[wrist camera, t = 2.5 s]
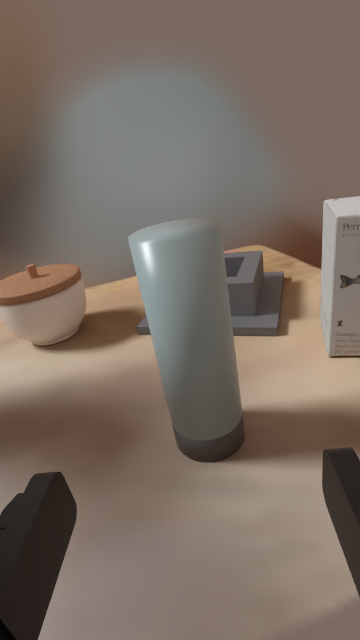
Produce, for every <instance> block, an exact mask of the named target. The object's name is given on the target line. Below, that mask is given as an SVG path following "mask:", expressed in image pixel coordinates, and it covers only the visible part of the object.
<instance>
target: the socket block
mask: <svg viewBox="0 0 360 640" xmlns="http://www.w3.org/2000/svg"><path fill="white" fill-rule="evenodd" d="M224 258H225V266H226V275H227V284H228V293H229V302H230V311H231V319H232V328H233V335H240V336H277V335H278V326H279V317H280V308H281V299H282V290H283V281H284V271H282V272H263V254H262V251H250V252H235V253H224ZM136 328H137V332H138V334H151V333H150V329H149V324H148V320H147V316H145V317H144V318H143V319H142V320H141V322H140V323H139V324H138V325H137V327H136Z"/></svg>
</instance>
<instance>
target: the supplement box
mask: <svg viewBox="0 0 360 640" xmlns="http://www.w3.org/2000/svg"><path fill="white" fill-rule="evenodd" d="M323 207H324V208H323V242H322V274H321V306H320V321H321V325H322V330H323V335H324V339H325V344H326V349H327V353H328V356H329V357H331V356H360V196H358V197H349V198H340V199H331V200H325V201H324V206H323Z"/></svg>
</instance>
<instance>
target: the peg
mask: <svg viewBox="0 0 360 640" xmlns="http://www.w3.org/2000/svg"><path fill="white" fill-rule="evenodd" d="M128 241H129V245H130V249H131V253H132V257H133V262H134V266H135V270H136V274H137V278H138V283H139V287H140V291H141V295H142V299H143V304H144V308H145V312H146V316H147V320H148V324H149V329H150V333H151V337H152V341H153V345H154V350H155V354H156V358H157V362H158V366H159V371H160V375H161V379H162V383H163V387H164V391H165V396H166V400H167V404H168V408H169V412H170V417H171V421H172V425H173V429H174V433H175V438H176V442H177V445H178V447H179V449H180V450H181V452H182V453H183V454H184V455H186V456H187V457H189V458H191V459H193V460H196V461H201V462H214V461H219V460H222V459H225V458H227V457H229V456H231V455H232V454H234V453H235V452H236V451H237V450H238V449H239V447H240V446H241V444H242V442H243V439H244V425H243V417H242V408H241V399H240V390H239V381H238V372H237V364H236V355H235V346H234V337H233V328H232V319H231V311H230V302H229V293H228V284H227V275H226V266H225V258H224V249H223V240H222V231H221V222H220V221H219V220H217V219H213V218H190V219H182V220H176V221H170V222H165V223H161V224H157V225H153V226H150V227H147V228H144V229H141V230H139V231H137V232H135V233H133V234H131V235H130V236H129V238H128Z"/></svg>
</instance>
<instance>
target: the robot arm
mask: <svg viewBox="0 0 360 640" xmlns="http://www.w3.org/2000/svg"><path fill="white" fill-rule="evenodd" d="M322 486H323V493H324V498H325V502H326V505H327V508H328V511H329V514H330V517H331V520H332V522H333V525H334V528H335V531H336V533H337V536H338V539H339V542H340V544H341V547H342V550H343V552H344V555H345V558H346V561H347V563H348V566H349V569H350V572H351V574H352V577H353V580H354V583H355V585H356V588H357V591H358V594H359V596H360V460H359V459H358V457H357V455H356V453H355V451H354V450H353V449H352V448H351V447H348V448H337V449H325V450H324V451H323V474H322ZM76 516H77V507H76V502H75V500H74V498H73V496H72V493H71V491H70V489H69V487H68V485H67V483H66V481H65V478H64V476H63V474H62V473H61V472H48V473H37V474H35V475H34V476H33V477H32V478H31V480H30V481H29V483H28V485H27V487H26V489H25V491H24V493H19V494H17V495H16V496H15V497H14V498H13V500H12V501H11V502H10V503H9V504H8V505H7V506H6V507H5V508H4V510H3V511H2V513H1V515H0V640H38V637H39V634H40V631H41V628H42V624H43V621H44V618H45V615H46V612H47V609H48V606H49V603H50V600H51V597H52V594H53V590H54V587H55V584H56V581H57V578H58V575H59V572H60V569H61V566H62V563H63V560H64V556H65V553H66V550H67V547H68V544H69V541H70V538H71V535H72V532H73V529H74V526H75V522H76Z"/></svg>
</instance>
